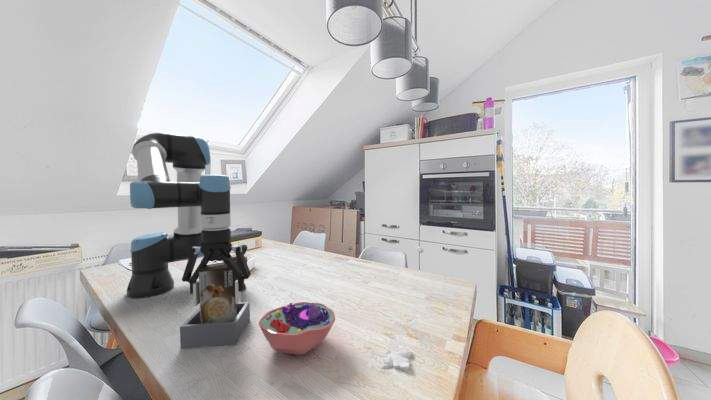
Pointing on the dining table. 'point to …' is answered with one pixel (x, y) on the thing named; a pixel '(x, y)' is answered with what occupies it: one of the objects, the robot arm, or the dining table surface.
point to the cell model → (297, 327)
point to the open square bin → (214, 330)
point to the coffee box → (217, 293)
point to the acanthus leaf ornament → (397, 360)
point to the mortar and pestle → (238, 263)
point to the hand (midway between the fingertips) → (218, 303)
